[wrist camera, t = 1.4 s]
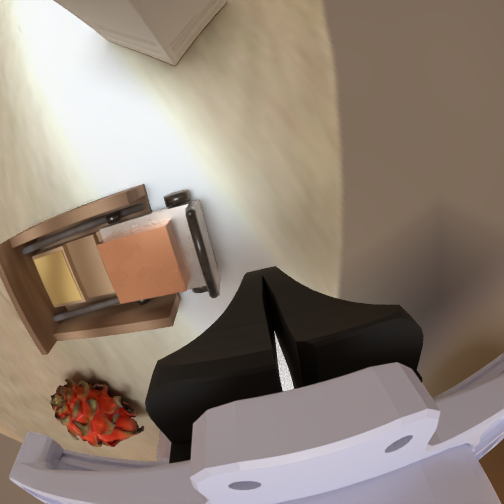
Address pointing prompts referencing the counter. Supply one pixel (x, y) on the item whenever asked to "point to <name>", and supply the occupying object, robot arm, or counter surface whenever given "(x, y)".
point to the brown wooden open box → (76, 276)
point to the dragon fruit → (94, 414)
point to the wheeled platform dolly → (160, 252)
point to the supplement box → (147, 23)
